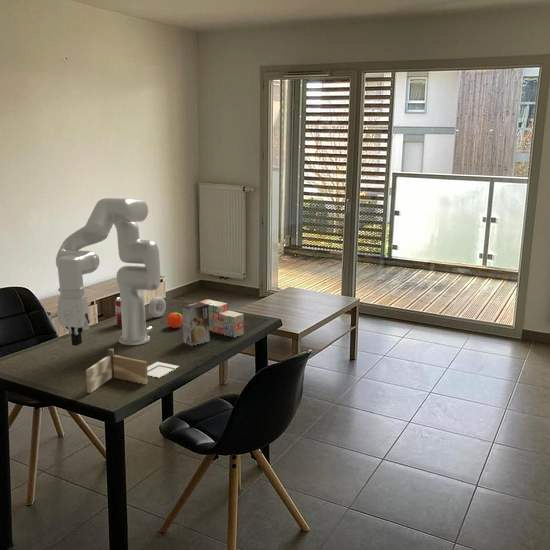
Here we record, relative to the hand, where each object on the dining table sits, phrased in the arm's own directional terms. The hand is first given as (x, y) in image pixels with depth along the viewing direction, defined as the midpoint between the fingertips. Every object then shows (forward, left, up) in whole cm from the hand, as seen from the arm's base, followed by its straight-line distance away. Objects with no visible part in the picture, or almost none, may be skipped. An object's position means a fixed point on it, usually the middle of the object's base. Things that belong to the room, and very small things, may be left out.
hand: (77, 344), depth 214 cm
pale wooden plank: (-2, +8, -14) cm, 16 cm away
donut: (-75, -24, -14) cm, 80 cm away
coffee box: (-54, +12, -14) cm, 57 cm away
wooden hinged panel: (-10, +13, -14) cm, 22 cm away
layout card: (-22, +17, -14) cm, 31 cm away
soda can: (-59, -30, -14) cm, 68 cm away
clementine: (-66, -7, -14) cm, 68 cm away
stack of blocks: (-71, +13, -15) cm, 73 cm away
